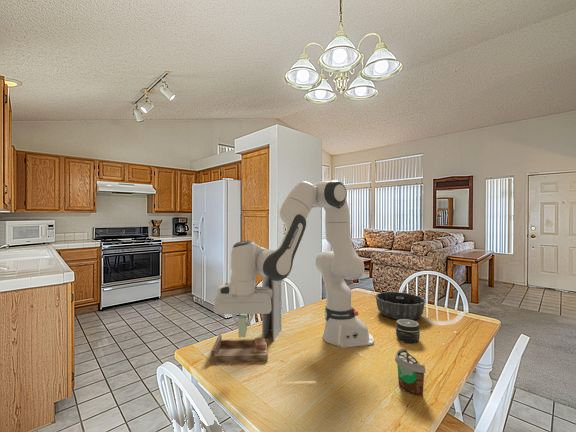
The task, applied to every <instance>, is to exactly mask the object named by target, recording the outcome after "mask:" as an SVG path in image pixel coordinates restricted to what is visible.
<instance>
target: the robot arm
mask: <svg viewBox="0 0 576 432" xmlns="http://www.w3.org/2000/svg"><path fill="white" fill-rule="evenodd" d="M312 208H323V209H324V211H325V215H324V216H325V217H324V224H325V225H324V227H325V228H324V229H325V230H324V231H325V232H324V233H325V240H326V242H328V244H329V245H330V247H331V249H332V250H327V251H326V250H325V251H321V252H319V253H318V254H317V255H316V258H315V266H316V269H317V271H319V272H320V275H321V277H322V280H323V282H324V287H325V300H326V302H325V304H326V305H325V308H324V318H325V324H324V330H323V334H322V339H323V340H324V341H325V342H326V343H328V344H332V345H334V346H337V347H339V348H341V349H345V348H355V347H363V346H364V347H365V346H373V345H374V343H375V339H374V337H373V335H372V334H371V333H370V332H369V329H368V326H367V325H366V323H365V322H364V321H362V320H361V319H360V318H359V317H358V316H359V314H360V313H359V311H358V310H356V309H355V308H354V307H353V306H352V291H351V289H350V287H349V286H348V285H347V283H346V281H345V280H359V279H360V278H361V277H362V276H363V275H364V273H365V264H364V261H363V259H362V258H361V257H360V256H359V255H358V253H357V251H356V249H355V248H354V247H355V246H354V245H353V242H352V236H351V234H352V233H351V215H350V208H349V204H348V201H347V189H346V187H345V185H344V183H343V182H341V181H339V180H323V181H319V182H315V183H312V182H311V183H310V182H308V181H305V180H304V181H300V182H298V183H297V184H296V185H295V186H294V187H293V188H292V190H291V191H290V192H289V193H288V195H287V196H286V198H285V199H284V201H283V203H282V204H281V207H280V210H279V216H280V219H281V221H282V222H283V223H284V224H285V225H286V232H285V233H284V236H283V239H282V241H281V242H280V245H279V246H278V248H276V249H275V250H272V249H269V248H265V247H262V246H260V245H258V244H257V243H255V242H254V241H253V240H241V241H237V242H236V243H235V244H233V246H232V249H231V253H230V269H231V276H230V281H228V282H223V283H221V284H220V285H219V286H218V287H217V294H216V296H215V298H214V302H213V303H214V304H213V313H214V314H215V315H231V318H232V319H233V321H234V322H235V324H234V325H235V327H239V318H237V315H240V314H247V315H249V319H247V321H246V326H247V327H251V324H252V320H253V318H254V315H258V314H259V315H260V314H261V315H262V314H269V313H270V312H271V298H272V290H271V289H270V288H268V287H262V286H256V285H257V284H256V282H257V280H256V278H257V277H256V276H257V275H261V276H262V275H263V276H266V277H268V278H270V279H272V280H274V281H281V282H282V281H283V280H285V279H286V278H287V277H289V275H290V273H291V271H292V269H293V263H294V259H295V256H296V253H297V251H298V248H299V246H300V243H301V241H302V239H303V236H304V233H305V230H306V228H307V218H308V216H309V214H310V213H311V210H312ZM268 289H270V290H268Z"/></svg>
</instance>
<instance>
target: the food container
mask: <svg viewBox="0 0 576 432" xmlns="http://www.w3.org/2000/svg"><path fill="white" fill-rule="evenodd" d="M407 348H408V347H407ZM407 348H406V347H405V348H400V349H398V350H397V352H396V354H395V356H394V361H395V362H396V364H397V378H398V386H399V388H400V390H403V391H404V392H406V393H408V394H410V395H413V396H417V395H418V396H421V397H423V395H424V385H425V374H426V365H424V364H420V362H418V360H417V359H416V357H414V356H413V355H411V354H410V353H409V352H408V351H407V350H408V349H407Z"/></svg>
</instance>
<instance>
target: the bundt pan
mask: <svg viewBox="0 0 576 432" xmlns="http://www.w3.org/2000/svg"><path fill="white" fill-rule="evenodd" d="M374 297H375V299H376V301H375V302H376V307H377V310H378V311H379V312H380V313H381V314H382V315H384V316H386V317H387V318H389V319H390V318H392V319H395V320H399V319H409V320H413V321H416V320H417V319H419V318H420V317H422V316H423V314H424V309H425V305H426V302H427V300H426V298H424V297H422V296H420V295H416V294H413V293H408V292H403V291H402V292H400V291H384V292H381V291H380V293H376V294H375V296H374Z"/></svg>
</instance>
